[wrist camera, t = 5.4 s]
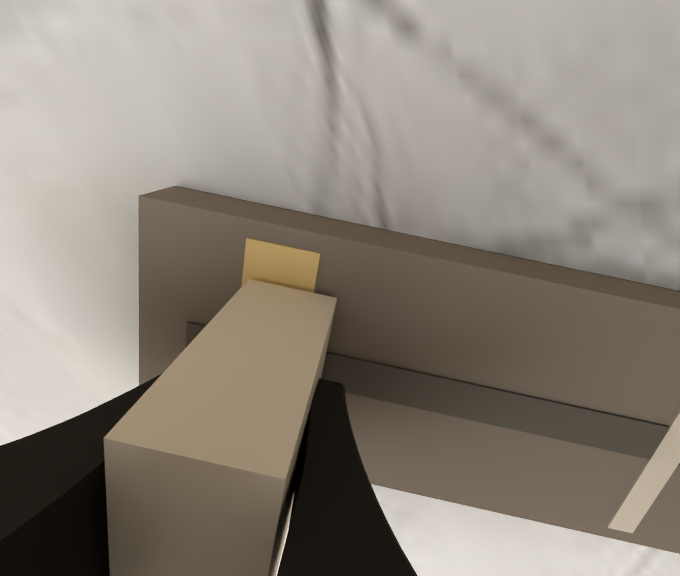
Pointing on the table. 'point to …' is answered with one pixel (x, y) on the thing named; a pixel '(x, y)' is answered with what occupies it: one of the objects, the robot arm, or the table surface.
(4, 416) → the table surface
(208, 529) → the fader tab
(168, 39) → the table surface
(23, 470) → the robot arm
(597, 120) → the table surface
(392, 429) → the fader console
